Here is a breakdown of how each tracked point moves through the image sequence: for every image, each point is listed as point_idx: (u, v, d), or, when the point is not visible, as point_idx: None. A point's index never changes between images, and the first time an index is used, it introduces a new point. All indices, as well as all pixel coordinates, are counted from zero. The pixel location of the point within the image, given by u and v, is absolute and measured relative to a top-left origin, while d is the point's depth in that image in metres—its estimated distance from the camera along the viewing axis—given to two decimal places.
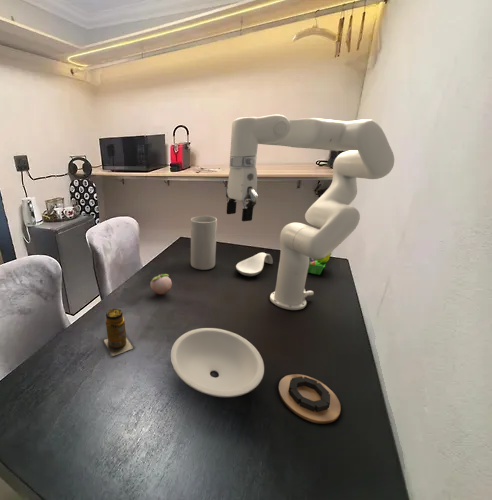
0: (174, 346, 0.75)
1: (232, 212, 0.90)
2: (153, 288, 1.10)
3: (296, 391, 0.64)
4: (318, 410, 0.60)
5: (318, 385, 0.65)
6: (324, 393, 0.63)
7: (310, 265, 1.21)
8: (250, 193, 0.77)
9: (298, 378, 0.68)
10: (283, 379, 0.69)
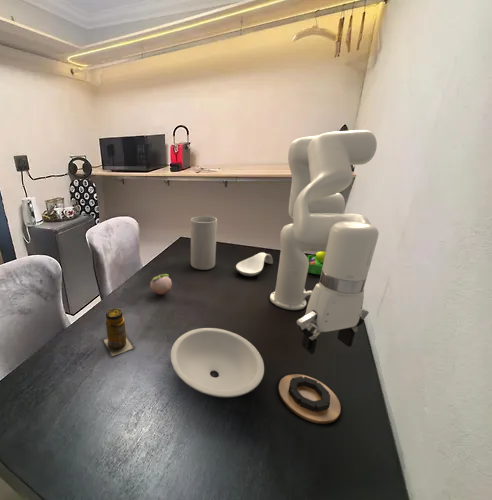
0: (174, 346, 0.75)
1: None
2: (153, 288, 1.10)
3: (296, 391, 0.64)
4: (318, 410, 0.60)
5: (318, 385, 0.65)
6: (324, 393, 0.63)
7: (310, 265, 1.21)
8: (361, 311, 0.59)
9: (298, 378, 0.68)
10: (283, 379, 0.69)
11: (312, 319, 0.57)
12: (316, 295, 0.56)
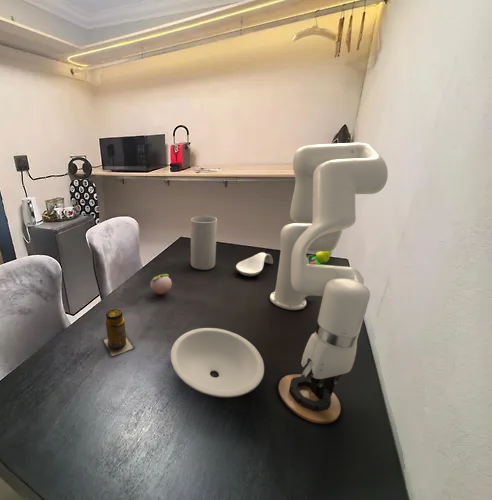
0: (174, 346, 0.75)
1: None
2: (153, 288, 1.10)
3: (297, 391, 0.64)
4: (319, 410, 0.60)
5: None
6: (325, 393, 0.63)
7: None
8: None
9: (299, 377, 0.68)
10: (283, 379, 0.69)
11: (309, 375, 0.61)
12: (312, 345, 0.59)
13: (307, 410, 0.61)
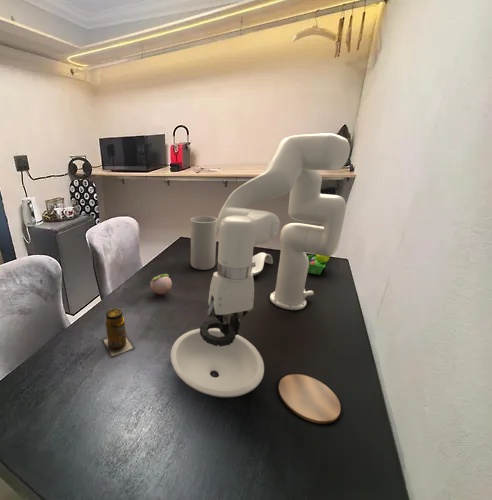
0: (174, 346, 0.75)
1: None
2: (153, 288, 1.10)
3: (205, 330, 0.67)
4: (220, 344, 0.64)
5: None
6: (230, 331, 0.66)
7: (310, 265, 1.21)
8: None
9: (212, 320, 0.71)
10: (283, 379, 0.69)
11: (212, 312, 0.64)
12: (213, 282, 0.63)
13: (307, 410, 0.61)
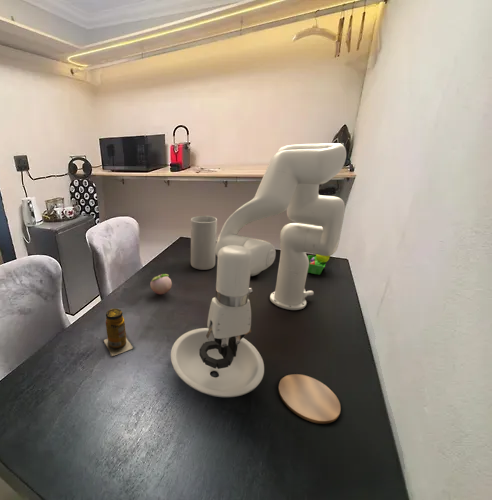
0: (174, 346, 0.75)
1: None
2: (153, 288, 1.10)
3: (204, 352, 0.70)
4: (219, 367, 0.66)
5: None
6: (228, 353, 0.69)
7: (310, 265, 1.21)
8: None
9: (211, 341, 0.74)
10: (283, 379, 0.69)
11: (211, 335, 0.67)
12: (211, 307, 0.65)
13: (307, 410, 0.61)
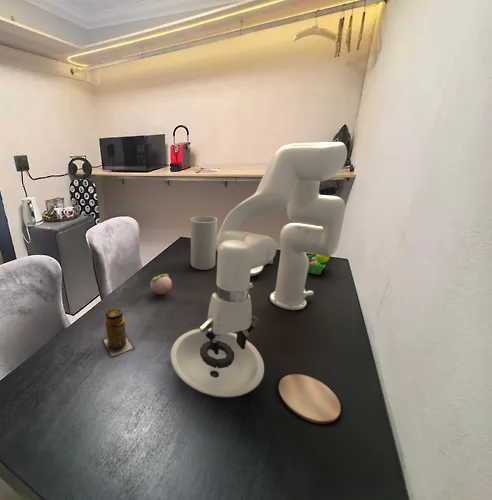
0: (174, 346, 0.75)
1: None
2: (153, 288, 1.10)
3: (205, 351, 0.70)
4: (219, 367, 0.67)
5: (227, 347, 0.71)
6: (229, 353, 0.69)
7: (310, 265, 1.21)
8: (252, 318, 0.68)
9: None
10: (283, 379, 0.69)
11: (209, 326, 0.66)
12: (211, 303, 0.65)
13: (307, 410, 0.61)
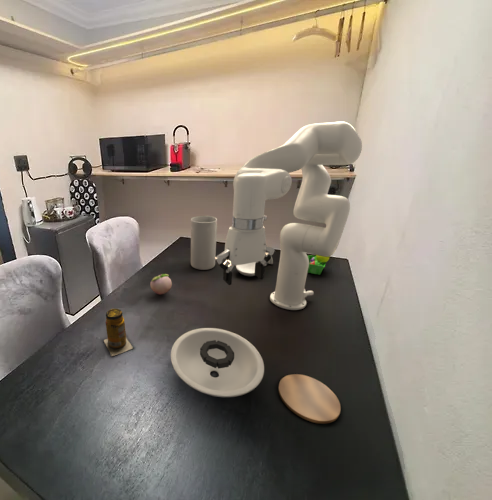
0: (174, 346, 0.75)
1: None
2: (153, 288, 1.10)
3: (205, 351, 0.70)
4: (219, 367, 0.67)
5: (227, 347, 0.71)
6: (229, 353, 0.69)
7: (310, 265, 1.21)
8: (268, 248, 0.72)
9: (212, 341, 0.74)
10: (283, 379, 0.69)
11: (226, 255, 0.70)
12: (228, 235, 0.70)
13: (307, 410, 0.61)
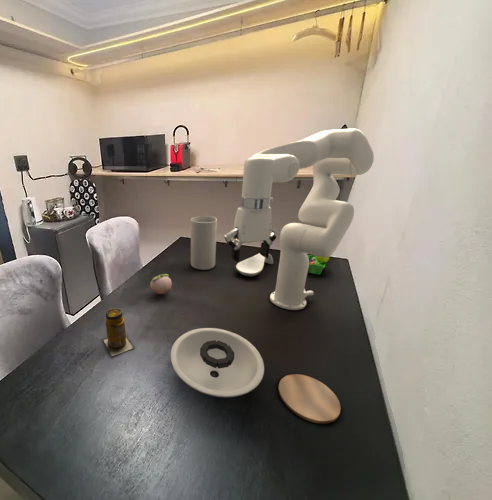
0: (174, 346, 0.75)
1: None
2: (153, 288, 1.10)
3: (205, 351, 0.70)
4: (219, 367, 0.67)
5: (227, 347, 0.71)
6: (229, 353, 0.69)
7: (310, 265, 1.21)
8: (273, 229, 0.78)
9: (212, 341, 0.74)
10: (283, 379, 0.69)
11: (235, 233, 0.76)
12: (237, 215, 0.76)
13: (307, 410, 0.61)
